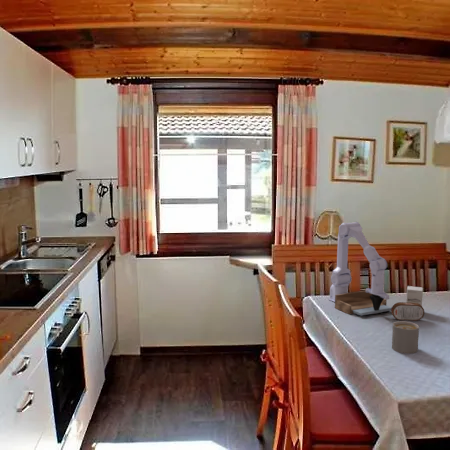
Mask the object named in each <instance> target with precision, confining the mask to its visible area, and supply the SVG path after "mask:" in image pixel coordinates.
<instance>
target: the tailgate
mask: <svg viewBox="0 0 450 450" xmlns="http://www.w3.org/2000/svg"><path fill="white" fill-rule="evenodd" d="M391 308H392V306H388V305H386V306H385V305H382V306H380V308H379V310H374V307H370V308H364V309H358V310H353V313H355V315H358V316H366V315H376V314H381V313H383V312H391Z"/></svg>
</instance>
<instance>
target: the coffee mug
mask: <svg viewBox="0 0 450 450" xmlns="http://www.w3.org/2000/svg"><path fill="white" fill-rule="evenodd" d="M419 333H420V326H419V324H417V323H414V322H411V321H406V320H398V321H395V322H393V323H392V335H391V336H392V337H391V340H392V341H391V349H392V350H393V351H395V352H397V353H400V354H405V353H406V354H409V355H410V354H411V355H413V354H416V353H417V352H418V351H419V335H420V334H419ZM406 354H405V355H406Z"/></svg>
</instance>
